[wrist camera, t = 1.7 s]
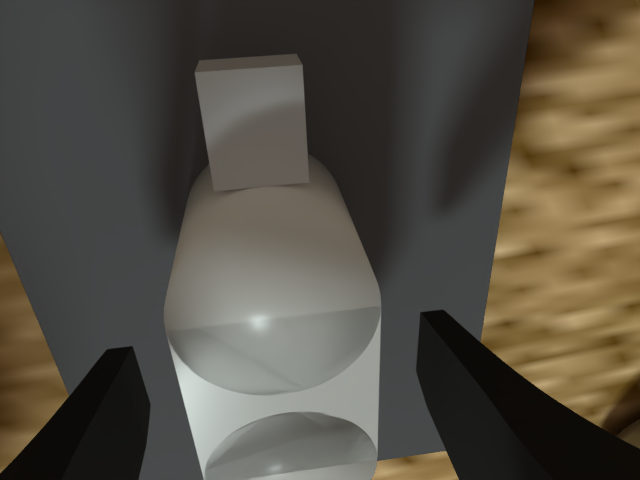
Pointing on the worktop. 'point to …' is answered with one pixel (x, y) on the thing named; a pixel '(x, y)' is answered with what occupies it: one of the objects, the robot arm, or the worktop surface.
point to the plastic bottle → (631, 434)
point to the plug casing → (272, 292)
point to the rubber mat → (192, 157)
